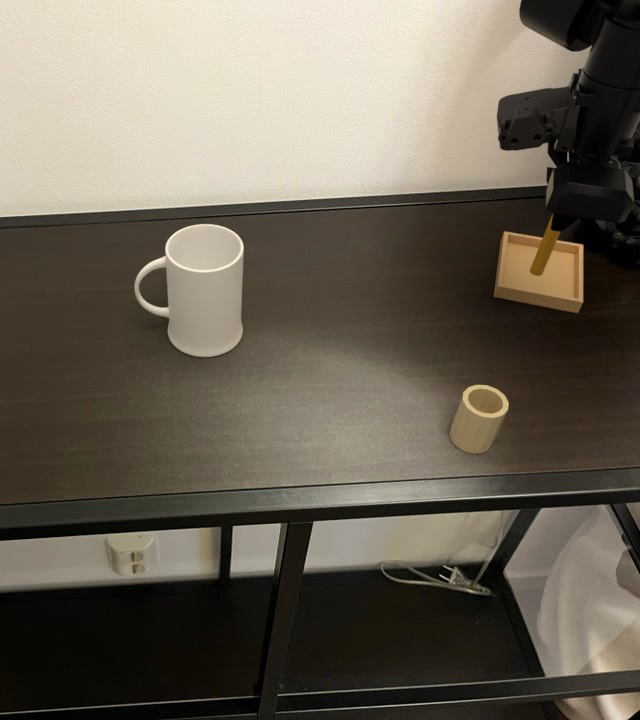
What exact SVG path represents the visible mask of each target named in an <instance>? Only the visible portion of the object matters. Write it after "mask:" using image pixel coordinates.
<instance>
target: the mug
mask: <svg viewBox="0 0 640 720" xmlns="http://www.w3.org/2000/svg"><path fill="white" fill-rule="evenodd" d="M244 247H245V246H244V243H243V240H242V238H241V237H240V236H239V235H238V234H237V233H236V232H235V231H233V230H232V229H229V228H227V227H226V226H222V225H218V224H210V223H200V224H194V225H193V224H192V225H189V226H186V227H183V228H181V229H179V230H177V231H175V232H174V233H173V234H172V235H171V236H170V237H169V238H168V239H167V241H166V243H165V249H164V250H165V251H164V252H165V255H164V256H162V257H160V258H156V259H155V260H152V261H150V262H148V263H147V264H146V265H145V266H144V267H143V268H142V269H141V270H140V271H139V272H138V274H137V276H136V278H135V280H134V294H135V298H136V300H137V302H138V303H139V305H140V306H141V307H142V308H144V309H145V310H146V311H147V312H149V313H151V314H153V315H156V316H158V317H164V318H167V319H168V325H167V336H168V339H169V341H170V343H171V344H172V345H173V347H175V348H176V349H177V350H178V351H180V352H182V353H183V354H186V355H188V356H192V357H198V358H213V357H218V356H221V355H224V354H226V353H228V352H230V351H231V350H234V349H235V347H236V346H237V345H238V344H239V343H240V341H241V339H242V337H243V332H244V330H243V329H244V327H243V323H242V306H243V305H242V303H243V277H244V253H245V251H244V250H245V248H244ZM158 269H166V270H165V271H166V287H167V307H160V306H157V305H154V304H151V303H149V302H148V301H146V300H145V298H143V296H142V295H141V292H140V284H141V281H142V280H143V279H144V278H145V276H147V275H148V274H150V273H151V272H153V271H155V270H158Z"/></svg>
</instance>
